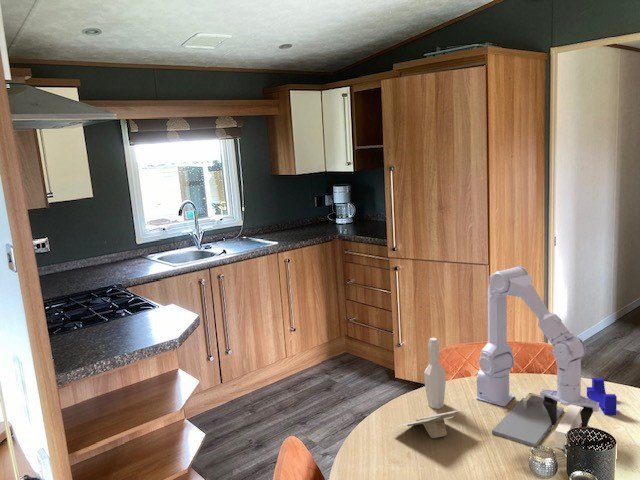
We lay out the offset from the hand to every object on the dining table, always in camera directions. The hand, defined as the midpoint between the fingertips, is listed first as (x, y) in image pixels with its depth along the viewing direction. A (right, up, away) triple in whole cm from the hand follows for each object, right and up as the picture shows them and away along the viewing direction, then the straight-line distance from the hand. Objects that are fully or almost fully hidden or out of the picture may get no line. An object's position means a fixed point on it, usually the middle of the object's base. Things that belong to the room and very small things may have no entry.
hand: (568, 427), depth 143 cm
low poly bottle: (-31, -1, +22) cm, 38 cm away
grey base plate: (-8, -1, +8) cm, 11 cm away
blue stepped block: (+16, +1, +14) cm, 22 cm away
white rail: (0, -2, 0) cm, 2 cm away
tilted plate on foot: (-37, -4, +7) cm, 38 cm away
